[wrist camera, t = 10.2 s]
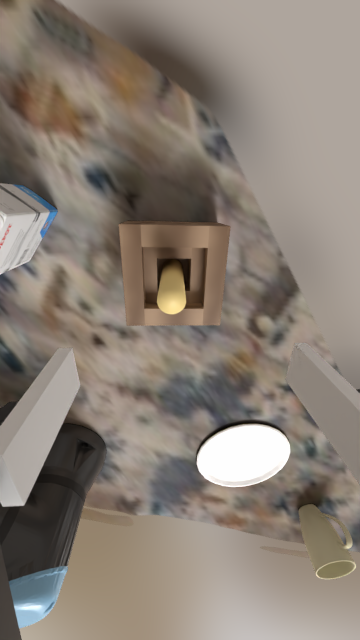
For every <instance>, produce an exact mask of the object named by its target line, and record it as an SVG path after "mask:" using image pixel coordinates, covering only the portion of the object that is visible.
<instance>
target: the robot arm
mask: <svg viewBox="0 0 360 640" xmlns="http://www.w3.org/2000/svg"><path fill="white" fill-rule="evenodd" d="M285 380H286V381H287V383H288V384H289V385H290V387H291V388H292V390H293V391H294V392H295V394H296V395H297V397H298V398H299V400H300V401H301V402H302V404H303V405H304V407H305V408H306V409H307V411H308V412H309V414H310V415H311V417H312V418H313V419H314V421H315V422H316V424H317V425H318V426H319V428H320V429H321V431H322V432H323V434H324V435H325V436H326V438H327V439H328V441H329V442H330V443H331V445H332V446H333V448H334V449H335V451H336V452H337V453H338V455H339V456H340V458H341V459H342V460H343V462H344V463H345V465H346V466H347V468H348V469H349V470H350V472H351V473H352V475H353V476H354V477H355V479H356V480H357V482H358V483H359V484H360V389H358V390H356V389H355V388H354V387H353V386H352V385H350V384H349V383H348V382H347V381H346V380H345V379H344V378H343V377H342V376H341V375H340V374H339V373H338V372H337V371H336V370H335V369H334V368H333V367H331V366H330V365H329V364H328V363H327V362H326V361H325V360H324V359H323V358H322V357H321V356H320V355H319V354H318V353H317V352H316V351H315V350H314V349H313V348H311V347H310V346H309V345H308V344H307V343H294V347H293V351H292V355H291V359H290V363H289V367H288V371H287V375H286V379H285ZM79 387H80V382H79V377H78V373H77V368H76V363H75V358H74V353H73V348H58V350H57V351H56V352H55V354H54V355H53V356H52V358H51V359H50V360H49V362H48V363H47V364H46V366H45V367H44V368H43V370H42V371H41V372H40V374H39V375H38V376H37V378H36V379H35V380H34V382H33V383H32V384H31V386H30V387H29V388H28V390H27V391H26V392H25V394H24V395H23V397H22V398H21V399H20V401H19V402H9V403H7V404H6V405H5V406H3V407H2V408H1V409H0V640H22V639H21V635H20V631H19V628H22V627H26V626H29V625H31V624H34V623H36V622H38V621H39V620H41V619H43V618H44V617H45V616H46V615H47V614H48V613H49V612H50V611H51V609H52V608H53V607H54V605H55V603H56V601H57V598H58V595H59V592H60V589H61V586H62V583H63V580H64V577H65V574H66V573H67V570H68V567H67V566H68V562H69V559H70V555H71V551H72V547H73V544H74V540H75V536H76V532H77V528H78V525H79V521H80V517H81V513H82V509H83V506H84V502H85V498H86V495H87V493H88V491H89V490H90V488H91V486H92V485H93V483H94V481H95V480H96V478H97V476H98V475H99V473H100V471H101V470H102V468H103V465H104V461H105V457H106V446H105V444H104V442H103V440H102V439H101V438H100V437H99V436H98V435H97V434H96V433H94V432H93V431H91V430H89V429H87V428H84V427H81V426H78V425H73V424H63V422H64V419H65V417H66V415H67V413H68V411H69V409H70V407H71V405H72V402H73V400H74V398H75V396H76V394H77V392H78V390H79Z"/></svg>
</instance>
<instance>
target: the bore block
mask: <svg viewBox="0 0 360 640" xmlns="http://www.w3.org/2000/svg"><path fill="white" fill-rule="evenodd" d="M229 234H230V226H227V225H224V224H221V223H216V222H169V221H126V222H123V223H120V224H119V235H120V247H121V259H122V272H123V284H124V297H125V309H126V322H127V326H134V325H220V321H221V311H222V301H223V292H224V282H225V273H226V263H227V254H228V244H229ZM169 259H176V260H178V261H179V262H180V263H181V264H182V267H183V276H184V285H185V295H186V305H185V307H184V309H183V310H182V311H180V312H179V313H176V314H167V313H164V312H163V311H162V310H160V308H159V307H158V304H157V296H158V291H159V285H160V280H161V274H162V269H163V265H164V263H165V262H166V261H167V260H169Z"/></svg>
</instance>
